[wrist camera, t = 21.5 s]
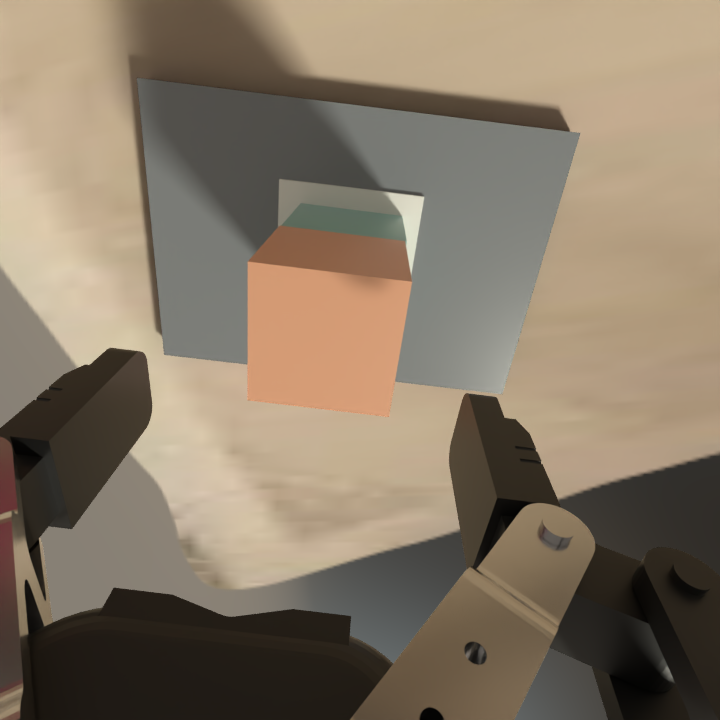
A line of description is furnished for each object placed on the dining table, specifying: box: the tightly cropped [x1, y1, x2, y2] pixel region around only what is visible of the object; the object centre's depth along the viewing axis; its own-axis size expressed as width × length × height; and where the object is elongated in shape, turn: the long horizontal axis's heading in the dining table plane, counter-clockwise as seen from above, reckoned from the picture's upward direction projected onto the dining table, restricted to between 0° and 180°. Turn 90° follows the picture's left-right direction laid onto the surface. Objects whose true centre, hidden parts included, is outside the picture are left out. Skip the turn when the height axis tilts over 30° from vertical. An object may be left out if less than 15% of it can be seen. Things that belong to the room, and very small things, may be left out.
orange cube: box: [248, 226, 412, 417], centre depth 18 cm, size 5×5×5 cm
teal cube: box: [281, 203, 407, 243], centre depth 22 cm, size 5×5×5 cm
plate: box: [137, 78, 580, 394], centre depth 25 cm, size 14×20×1 cm
